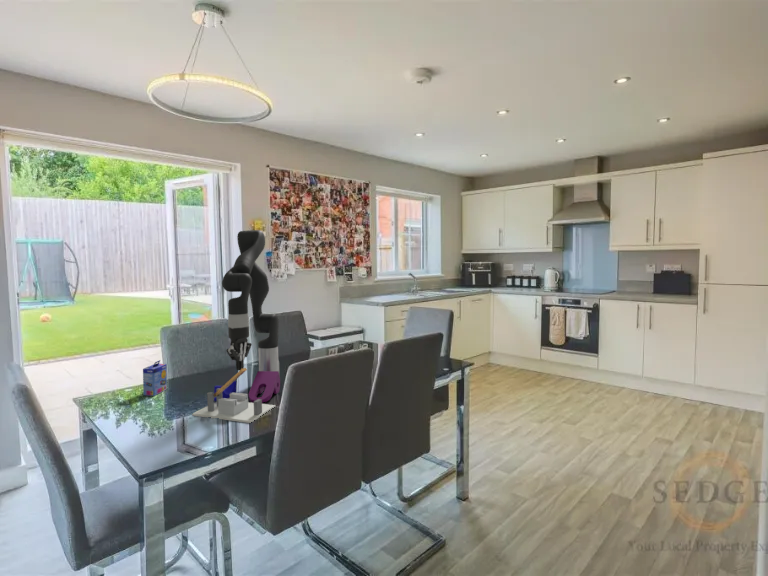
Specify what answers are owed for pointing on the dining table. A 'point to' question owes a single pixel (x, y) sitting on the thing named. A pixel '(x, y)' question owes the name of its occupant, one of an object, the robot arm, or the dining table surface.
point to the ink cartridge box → (154, 379)
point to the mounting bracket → (265, 385)
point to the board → (237, 417)
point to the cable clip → (227, 390)
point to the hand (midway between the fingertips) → (240, 369)
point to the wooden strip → (229, 382)
